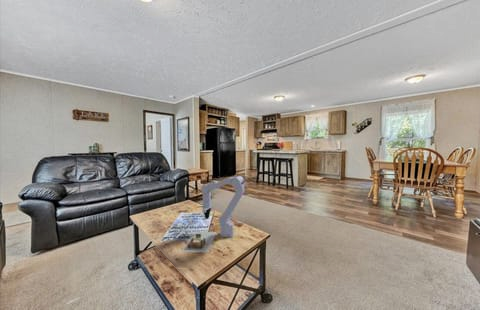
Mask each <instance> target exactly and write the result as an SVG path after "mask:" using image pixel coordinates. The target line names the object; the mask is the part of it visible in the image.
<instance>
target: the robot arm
mask: <svg viewBox="0 0 480 310" xmlns="http://www.w3.org/2000/svg"><path fill="white" fill-rule="evenodd" d="M245 183H246V182H245V178H244V177H243V176H242V175H237V176H231V177H228V178H226V179H223V180H220V181H218V180H212V182H207V183H206V184H203V185H202V186H201V188H200V190H201V192H202V205H201V206H200V207H201V208H202V213H203V215H204V218H205V219H206V220H208V219H209V218H210V214H211V210H212V200H211V199H212V195H211V194H212V193H211V192H212V191H215V190H218V189H219V188H220V187H222V186H224V185H229V186H232V187H233V189H234V190H235V193H234V195H233V196H232V198H231V200H230V202H229V203H228V205H227V206H226V209H225V210H224V212H223V213H222V215H220V216H219V217H218V224H220V225H219V227H220V228H219V231H220V233H219V234H220V237H224V238H226V237H229V238H230V239H233V237H234V233H235V231H234V230H235V229H234V228H235V227H234V223H233V222H231V219H232V217H233V216H232V215H233V212H234V211H235V209H236V208H237V206H238V204H239V202H240V200H241V198H242V197H243V196H244V194H245Z"/></svg>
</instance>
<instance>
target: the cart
mask: <svg viewBox="0 0 480 310" xmlns="http://www.w3.org/2000/svg"><path fill="white" fill-rule="evenodd" d="M202 241H203V240H202V237H201V234H196V237H195V239H194V240H193V243H198V244H201V242H202Z"/></svg>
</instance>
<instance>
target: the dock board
mask: <svg viewBox="0 0 480 310" xmlns="http://www.w3.org/2000/svg"><path fill="white" fill-rule="evenodd" d="M196 234H201V237H202V240H203V239H204V238H205V244H204V246H203V248H202V249H195V248H188V244H189V242H190V241H191V239H192V238H194V239H195V237H196ZM216 234H217V231H194V232H193V233H192V236H191V237H190V239H189V240H188V241H187V243H186V244H185V247H184V248H183V249H182V251H181V252H182V253H209V251H210V250H211V247H212V244H213V243H214V242H213V241H214V239H215V237H216Z"/></svg>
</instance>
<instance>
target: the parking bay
mask: <svg viewBox="0 0 480 310" xmlns="http://www.w3.org/2000/svg"><path fill="white" fill-rule="evenodd" d="M193 240H194V238H192V239H191V241H190V242H189V244H188V248H195V249H202V248H203V246H204V244H205V238H204V239H203V241H202V242H201V244H198V243H193Z"/></svg>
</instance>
